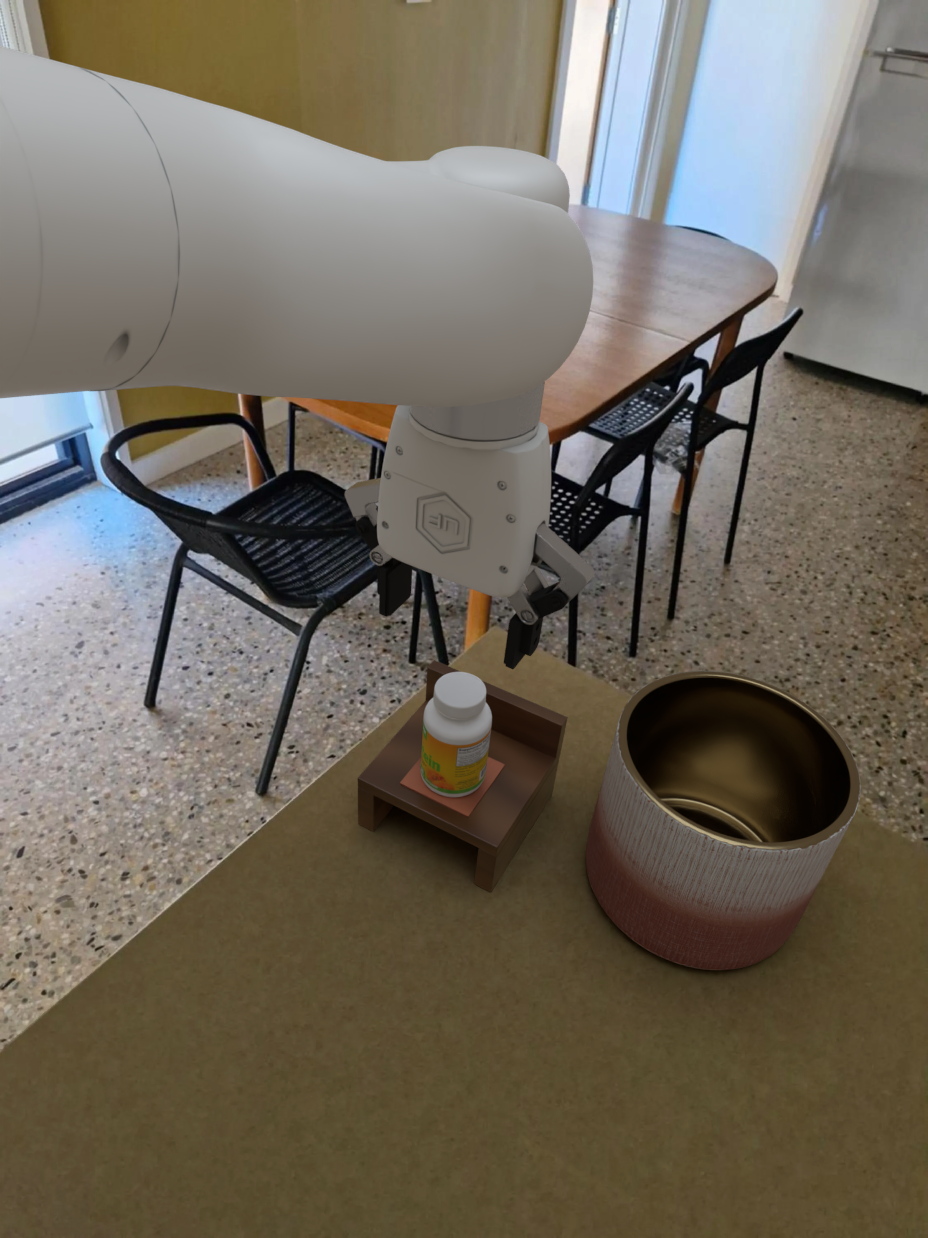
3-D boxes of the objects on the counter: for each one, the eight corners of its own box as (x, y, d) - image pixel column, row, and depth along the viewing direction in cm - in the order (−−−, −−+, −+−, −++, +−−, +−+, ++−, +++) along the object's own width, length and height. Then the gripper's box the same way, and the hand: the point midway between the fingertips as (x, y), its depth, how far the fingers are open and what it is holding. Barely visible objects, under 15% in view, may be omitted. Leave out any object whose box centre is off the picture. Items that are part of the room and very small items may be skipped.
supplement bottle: (409, 761, 74) (413, 676, 68) (466, 742, 76) (474, 657, 70) (437, 808, 71) (444, 722, 64) (496, 786, 73) (508, 701, 67)
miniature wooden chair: (490, 893, 72) (502, 814, 66) (357, 824, 76) (356, 744, 70) (552, 794, 80) (567, 717, 74) (429, 737, 85) (434, 659, 78)
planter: (540, 879, 73) (566, 749, 63) (655, 764, 84) (693, 638, 74) (730, 1026, 65) (795, 902, 55) (832, 877, 75) (902, 751, 65)
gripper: (310, 377, 50) (318, 614, 61) (591, 467, 44) (546, 712, 55) (383, 339, 56) (379, 563, 66) (642, 414, 50) (592, 647, 60)
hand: (455, 630), depth 61 cm, fingers open, 9 cm apart
